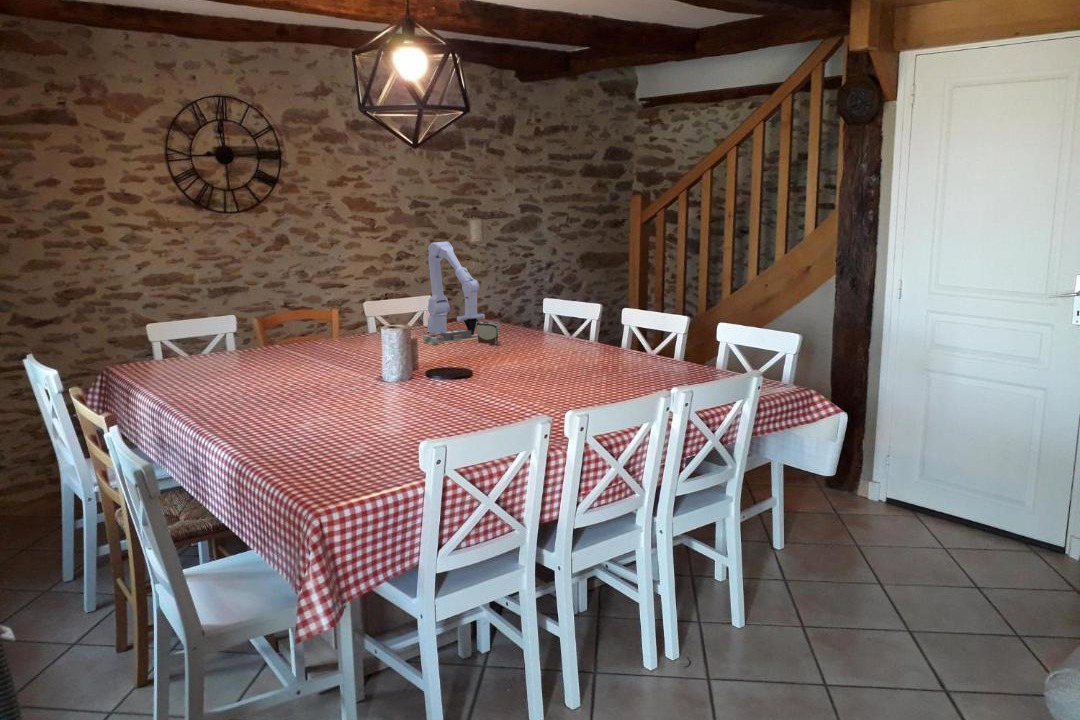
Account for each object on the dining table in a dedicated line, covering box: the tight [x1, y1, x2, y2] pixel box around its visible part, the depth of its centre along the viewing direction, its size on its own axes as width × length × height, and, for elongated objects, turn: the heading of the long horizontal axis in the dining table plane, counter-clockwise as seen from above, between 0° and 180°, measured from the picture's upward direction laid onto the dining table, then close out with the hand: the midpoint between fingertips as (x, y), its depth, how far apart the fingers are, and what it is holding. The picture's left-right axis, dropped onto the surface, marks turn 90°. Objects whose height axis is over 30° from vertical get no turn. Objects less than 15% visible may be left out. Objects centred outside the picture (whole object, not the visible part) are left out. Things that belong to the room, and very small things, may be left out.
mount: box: [420, 333, 478, 346], centre depth 388 cm, size 10×33×3 cm, turn 129°
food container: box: [476, 320, 501, 347], centre depth 380 cm, size 12×6×10 cm, turn 58°
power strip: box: [440, 328, 471, 341], centre depth 387 cm, size 4×14×4 cm, turn 129°
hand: (471, 334), depth 393 cm, fingers closed
